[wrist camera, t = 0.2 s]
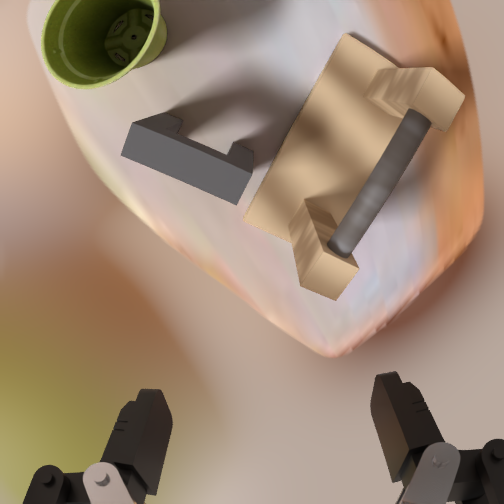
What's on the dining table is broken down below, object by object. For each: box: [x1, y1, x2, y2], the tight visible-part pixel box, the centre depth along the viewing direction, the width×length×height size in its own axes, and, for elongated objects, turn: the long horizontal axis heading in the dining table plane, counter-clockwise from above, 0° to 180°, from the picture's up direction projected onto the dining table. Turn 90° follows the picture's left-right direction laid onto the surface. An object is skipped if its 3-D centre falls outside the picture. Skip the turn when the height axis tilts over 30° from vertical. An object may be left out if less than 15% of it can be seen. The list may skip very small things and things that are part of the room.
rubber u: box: [121, 113, 253, 205], centre depth 24 cm, size 2×9×8 cm, turn 64°
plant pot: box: [41, 0, 167, 89], centre depth 19 cm, size 9×9×9 cm
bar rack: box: [243, 33, 465, 301], centre depth 23 cm, size 20×11×11 cm, turn 154°
